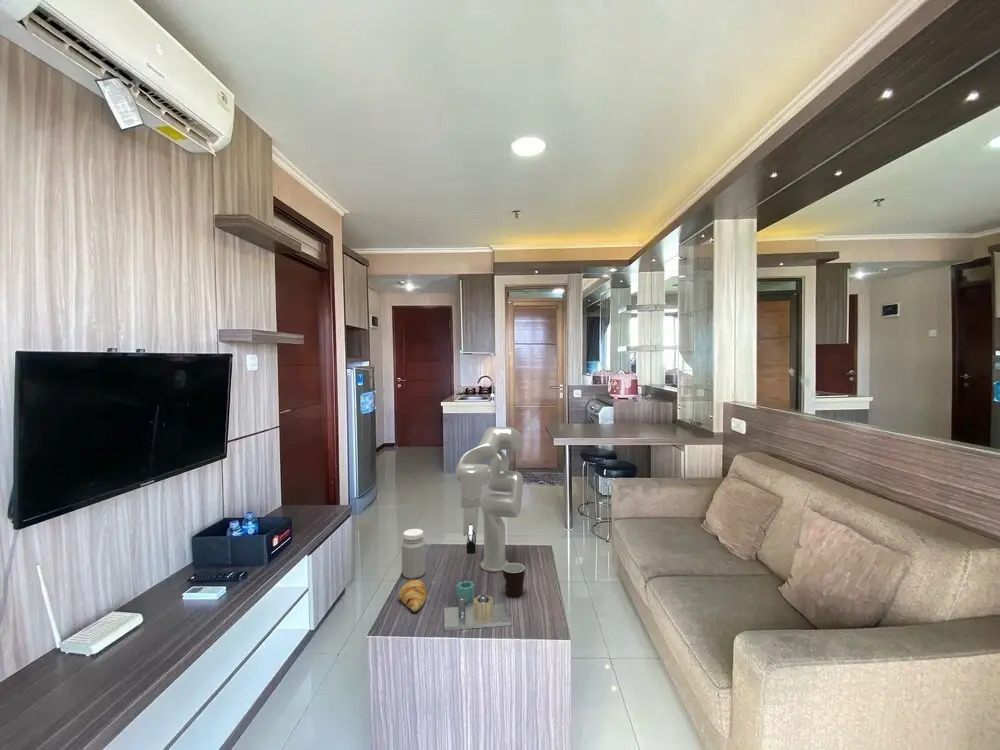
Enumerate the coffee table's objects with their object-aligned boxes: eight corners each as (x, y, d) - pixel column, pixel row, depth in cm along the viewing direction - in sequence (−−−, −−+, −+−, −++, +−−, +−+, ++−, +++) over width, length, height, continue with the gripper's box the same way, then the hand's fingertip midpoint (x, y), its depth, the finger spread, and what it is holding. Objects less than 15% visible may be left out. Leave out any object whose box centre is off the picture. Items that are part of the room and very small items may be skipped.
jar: (416, 567, 188) (416, 526, 188) (430, 574, 181) (429, 531, 181) (397, 574, 181) (397, 532, 181) (410, 582, 174) (410, 538, 174)
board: (444, 611, 152) (444, 590, 152) (505, 606, 155) (505, 586, 155) (444, 630, 140) (444, 608, 140) (510, 625, 143) (510, 603, 143)
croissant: (423, 623, 151) (434, 601, 152) (398, 614, 148) (409, 592, 149) (417, 593, 171) (426, 574, 172) (394, 584, 169) (404, 565, 170)
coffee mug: (523, 600, 159) (523, 573, 159) (500, 598, 160) (500, 571, 160) (527, 585, 170) (527, 560, 170) (506, 583, 172) (506, 559, 172)
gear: (456, 594, 164) (456, 581, 164) (474, 593, 165) (474, 580, 165) (456, 603, 157) (456, 590, 157) (475, 602, 158) (475, 588, 158)
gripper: (461, 495, 167) (462, 539, 167) (459, 509, 150) (460, 558, 150) (481, 495, 167) (481, 539, 167) (481, 508, 150) (481, 557, 150)
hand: (471, 548), depth 158 cm, fingers open, 9 cm apart
